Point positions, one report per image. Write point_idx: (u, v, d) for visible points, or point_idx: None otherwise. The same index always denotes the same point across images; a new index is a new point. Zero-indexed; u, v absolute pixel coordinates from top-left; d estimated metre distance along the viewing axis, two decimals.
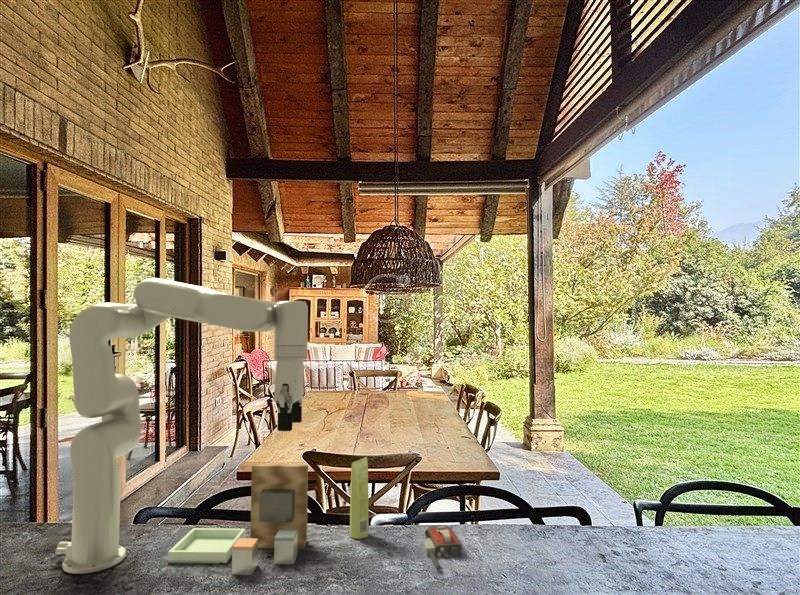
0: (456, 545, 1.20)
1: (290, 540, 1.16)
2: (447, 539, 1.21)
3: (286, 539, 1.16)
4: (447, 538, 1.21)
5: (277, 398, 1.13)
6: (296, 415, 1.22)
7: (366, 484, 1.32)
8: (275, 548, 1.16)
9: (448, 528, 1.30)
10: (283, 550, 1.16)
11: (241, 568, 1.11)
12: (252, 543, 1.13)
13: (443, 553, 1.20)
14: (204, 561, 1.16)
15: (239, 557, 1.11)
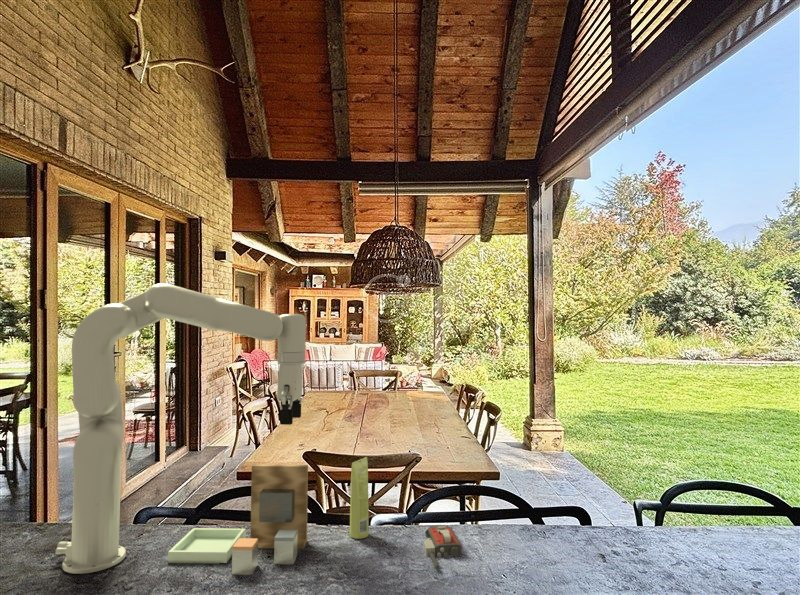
0: (456, 545, 1.20)
1: (290, 540, 1.16)
2: (447, 539, 1.21)
3: (286, 539, 1.16)
4: (447, 538, 1.21)
5: (280, 397, 1.34)
6: (296, 411, 1.43)
7: (366, 484, 1.32)
8: (275, 548, 1.16)
9: (448, 528, 1.30)
10: (283, 550, 1.16)
11: (241, 568, 1.11)
12: (252, 543, 1.13)
13: (443, 553, 1.20)
14: (204, 561, 1.16)
15: (239, 557, 1.11)
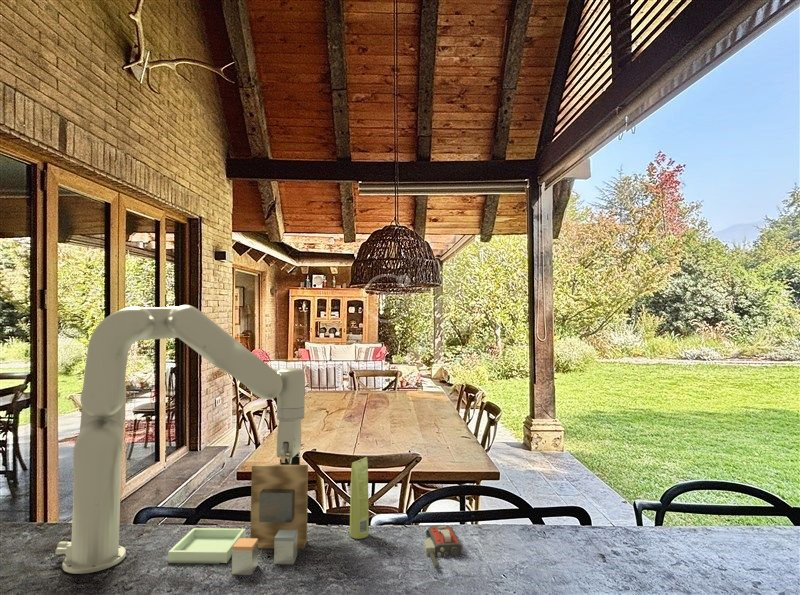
0: (456, 545, 1.20)
1: (290, 540, 1.16)
2: (447, 539, 1.21)
3: (286, 539, 1.16)
4: (447, 538, 1.22)
5: (279, 454, 1.34)
6: None
7: (366, 484, 1.32)
8: (275, 548, 1.16)
9: (449, 528, 1.30)
10: (283, 550, 1.16)
11: (241, 568, 1.11)
12: (252, 543, 1.13)
13: (443, 553, 1.20)
14: (204, 561, 1.16)
15: (239, 557, 1.11)
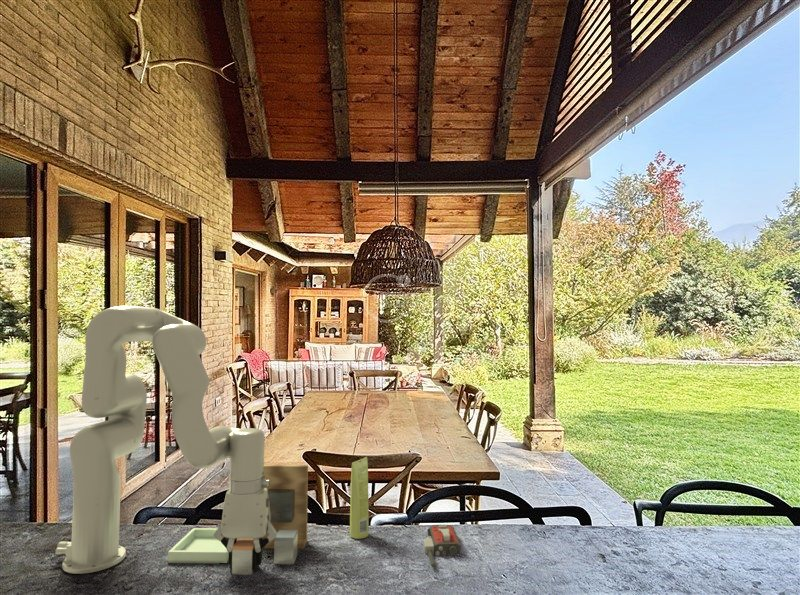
0: (455, 544, 1.21)
1: (290, 540, 1.16)
2: (446, 538, 1.22)
3: (286, 539, 1.16)
4: (446, 537, 1.22)
5: None
6: None
7: (366, 484, 1.32)
8: (275, 548, 1.16)
9: (450, 527, 1.30)
10: (283, 550, 1.16)
11: (241, 568, 1.11)
12: (252, 543, 1.13)
13: (442, 552, 1.20)
14: (204, 561, 1.16)
15: (239, 557, 1.11)
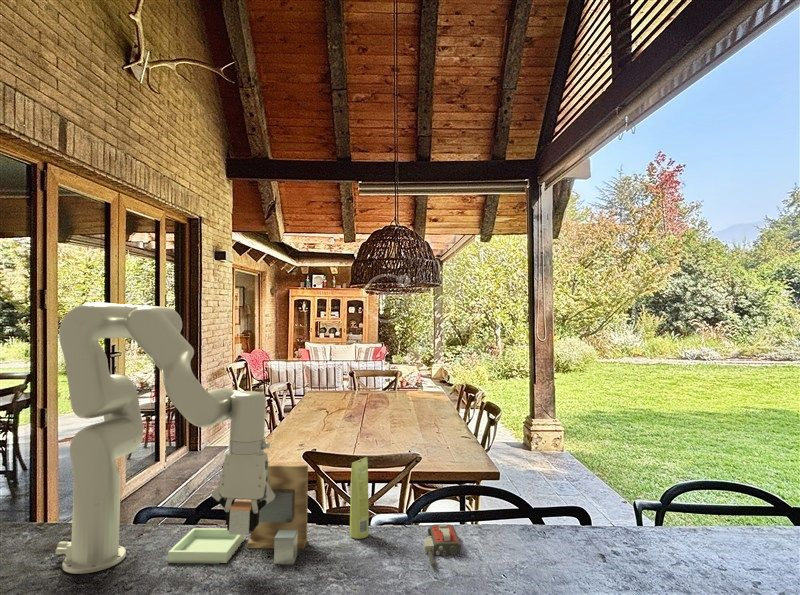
0: (455, 544, 1.21)
1: (290, 540, 1.16)
2: (446, 538, 1.22)
3: (286, 539, 1.16)
4: (446, 537, 1.22)
5: None
6: None
7: (366, 484, 1.32)
8: (275, 548, 1.16)
9: (450, 527, 1.30)
10: (283, 550, 1.16)
11: (238, 528, 1.11)
12: (250, 504, 1.13)
13: (442, 551, 1.21)
14: (204, 561, 1.16)
15: (237, 518, 1.12)
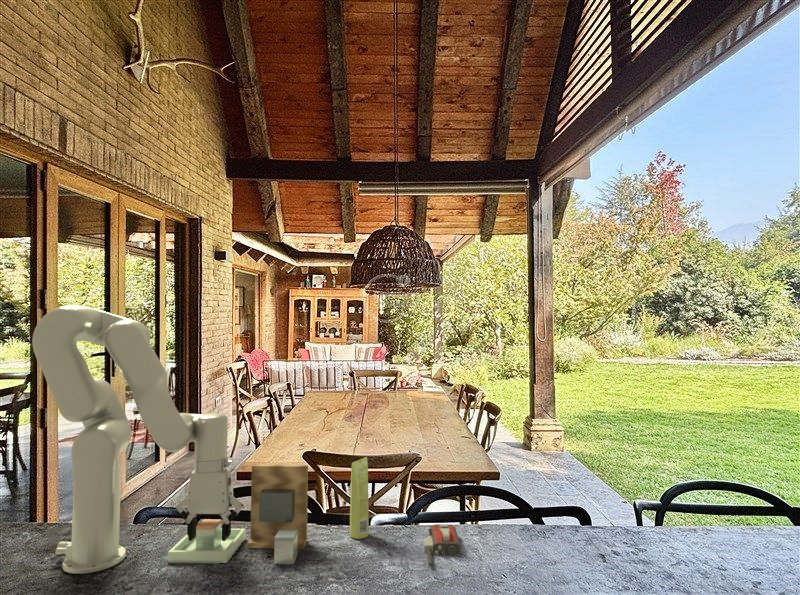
0: (454, 544, 1.21)
1: (290, 540, 1.16)
2: (446, 538, 1.22)
3: (286, 539, 1.16)
4: (446, 537, 1.22)
5: None
6: None
7: (366, 484, 1.32)
8: (275, 548, 1.16)
9: (451, 527, 1.30)
10: (283, 550, 1.16)
11: (204, 546, 1.21)
12: (215, 523, 1.23)
13: (441, 551, 1.21)
14: (204, 561, 1.16)
15: (203, 536, 1.21)
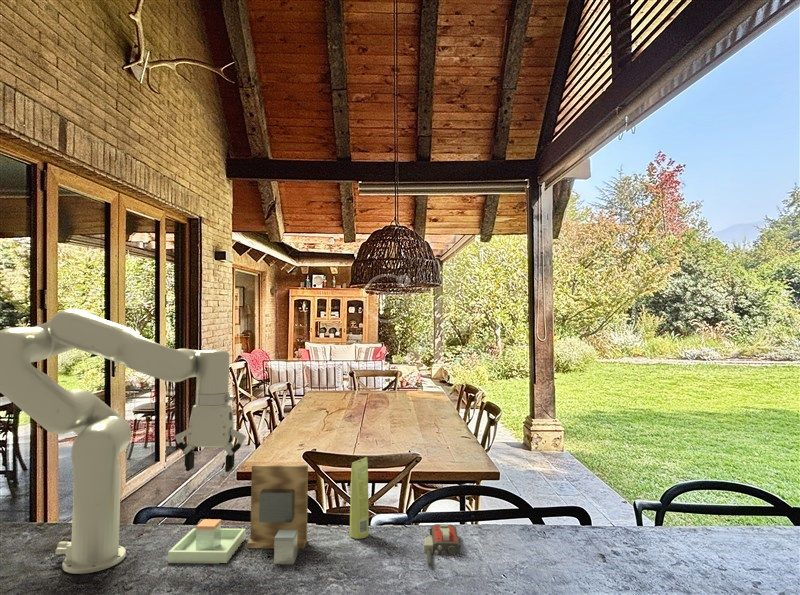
0: (454, 544, 1.21)
1: (290, 540, 1.16)
2: (445, 537, 1.22)
3: (286, 539, 1.16)
4: (445, 536, 1.22)
5: None
6: None
7: (366, 484, 1.32)
8: (275, 548, 1.16)
9: (452, 527, 1.30)
10: (283, 550, 1.16)
11: (204, 546, 1.21)
12: (215, 523, 1.23)
13: (441, 551, 1.21)
14: (204, 561, 1.16)
15: (203, 536, 1.21)
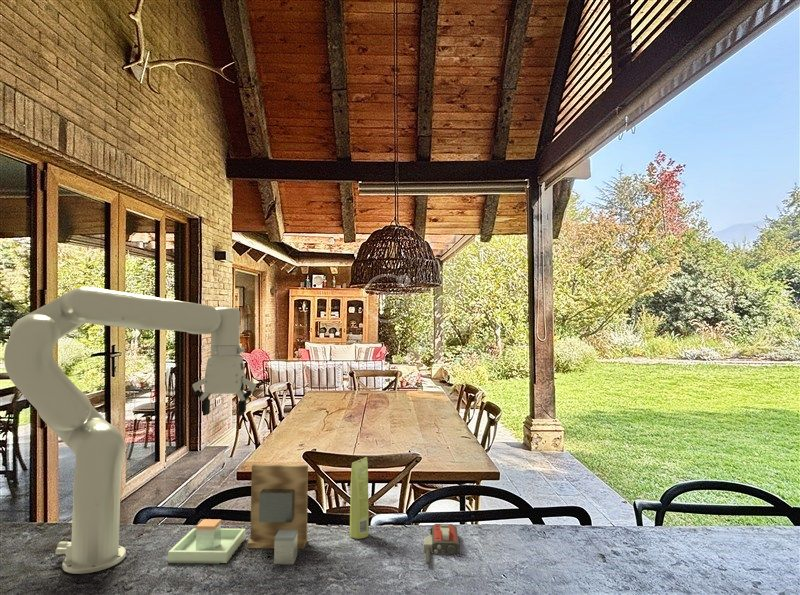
0: (453, 544, 1.21)
1: (290, 540, 1.16)
2: (445, 537, 1.22)
3: (286, 539, 1.16)
4: (445, 536, 1.22)
5: None
6: None
7: (366, 484, 1.32)
8: (275, 548, 1.16)
9: (452, 527, 1.30)
10: (283, 550, 1.16)
11: (204, 546, 1.21)
12: (215, 523, 1.23)
13: (440, 550, 1.21)
14: (204, 561, 1.16)
15: (203, 536, 1.21)
